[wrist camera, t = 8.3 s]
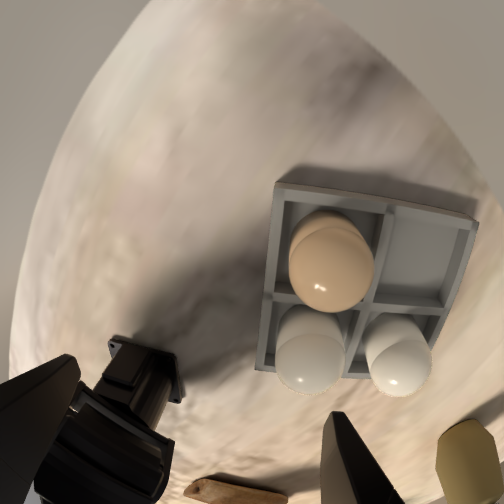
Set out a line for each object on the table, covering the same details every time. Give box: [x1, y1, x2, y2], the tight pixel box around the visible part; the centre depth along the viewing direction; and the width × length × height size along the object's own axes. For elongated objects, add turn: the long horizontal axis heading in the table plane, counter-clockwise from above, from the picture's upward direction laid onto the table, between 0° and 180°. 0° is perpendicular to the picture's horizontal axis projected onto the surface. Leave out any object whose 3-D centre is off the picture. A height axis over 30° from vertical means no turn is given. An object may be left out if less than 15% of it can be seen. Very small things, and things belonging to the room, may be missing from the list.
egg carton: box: [255, 182, 479, 379], centre depth 17 cm, size 13×13×2 cm
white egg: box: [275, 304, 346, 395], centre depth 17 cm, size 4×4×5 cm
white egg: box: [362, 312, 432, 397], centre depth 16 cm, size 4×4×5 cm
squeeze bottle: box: [435, 419, 504, 504], centre depth 16 cm, size 8×8×18 cm
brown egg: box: [289, 210, 374, 313], centre depth 14 cm, size 4×4×5 cm
